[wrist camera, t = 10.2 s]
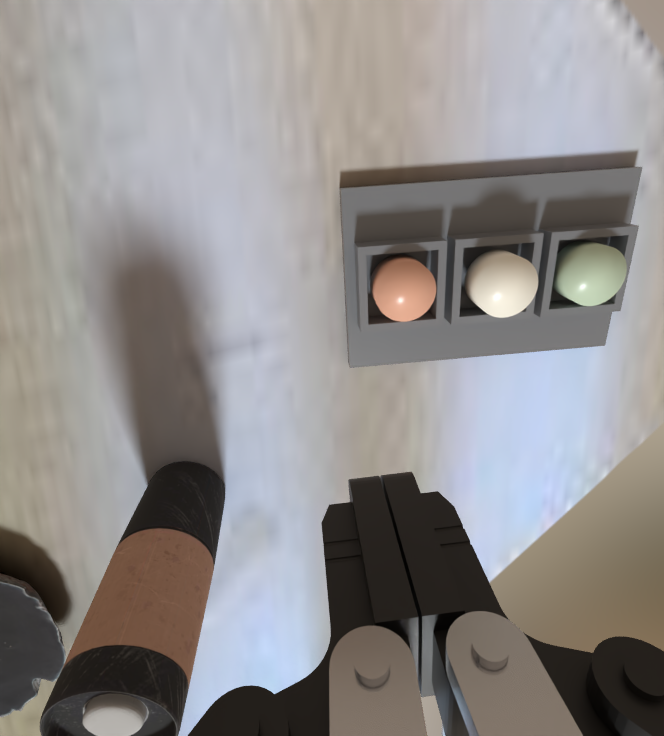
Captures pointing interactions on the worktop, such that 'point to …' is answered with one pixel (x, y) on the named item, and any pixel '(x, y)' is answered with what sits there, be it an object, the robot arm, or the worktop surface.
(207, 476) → the travel mug
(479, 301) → the cream button
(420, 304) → the terracotta button
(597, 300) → the sage button
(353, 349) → the button panel
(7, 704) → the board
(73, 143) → the worktop surface
